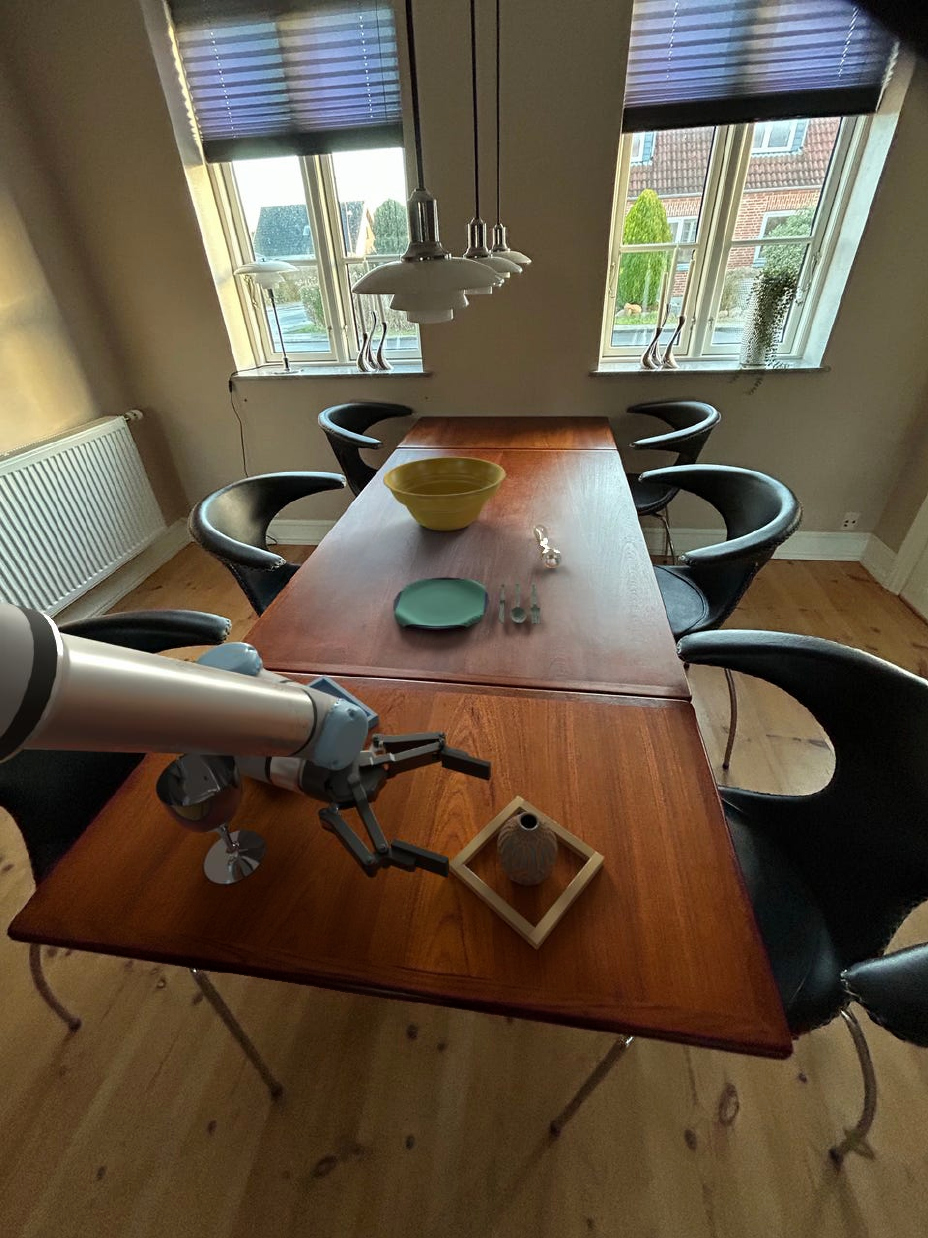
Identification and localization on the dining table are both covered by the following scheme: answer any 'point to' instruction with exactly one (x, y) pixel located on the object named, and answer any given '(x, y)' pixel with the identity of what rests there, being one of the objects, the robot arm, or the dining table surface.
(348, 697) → the blue tray
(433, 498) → the planter bowl
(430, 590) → the cutlery set
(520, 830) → the vase
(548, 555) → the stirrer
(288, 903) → the dining table surface
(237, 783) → the wine glass
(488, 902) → the oak frame
